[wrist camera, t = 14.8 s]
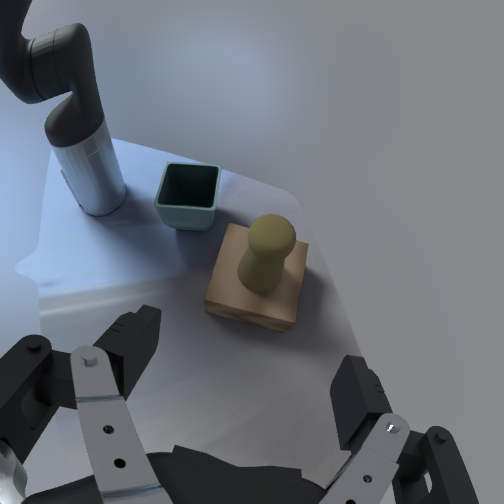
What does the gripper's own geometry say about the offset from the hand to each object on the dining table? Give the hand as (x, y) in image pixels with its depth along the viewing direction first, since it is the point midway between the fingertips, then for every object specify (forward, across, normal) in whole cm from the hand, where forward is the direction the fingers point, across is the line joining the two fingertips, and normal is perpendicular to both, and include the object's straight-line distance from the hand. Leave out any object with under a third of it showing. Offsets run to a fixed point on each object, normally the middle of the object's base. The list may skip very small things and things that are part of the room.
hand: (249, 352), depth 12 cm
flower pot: (+39, +12, +4) cm, 41 cm away
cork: (+28, -1, +7) cm, 28 cm away
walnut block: (+32, -1, +10) cm, 34 cm away
